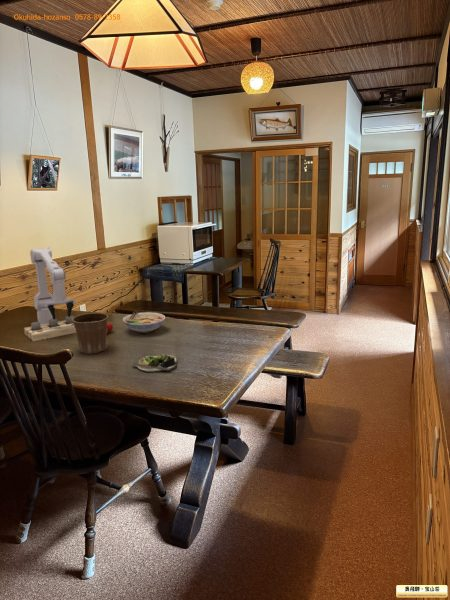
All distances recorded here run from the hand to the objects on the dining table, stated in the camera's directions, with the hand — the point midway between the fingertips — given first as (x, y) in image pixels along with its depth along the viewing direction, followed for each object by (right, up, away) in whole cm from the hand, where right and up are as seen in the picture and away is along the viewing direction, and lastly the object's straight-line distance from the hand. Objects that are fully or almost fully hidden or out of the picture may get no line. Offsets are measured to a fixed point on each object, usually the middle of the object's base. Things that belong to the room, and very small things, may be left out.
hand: (61, 317), depth 225 cm
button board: (-7, -8, +8) cm, 14 cm away
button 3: (-1, -5, +15) cm, 15 cm away
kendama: (+18, -10, +4) cm, 21 cm away
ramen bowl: (+41, -8, +11) cm, 43 cm away
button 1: (-15, -7, +3) cm, 17 cm away
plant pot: (+21, -15, -17) cm, 31 cm away
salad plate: (+56, -20, -36) cm, 69 cm away
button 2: (-8, -6, +9) cm, 13 cm away
